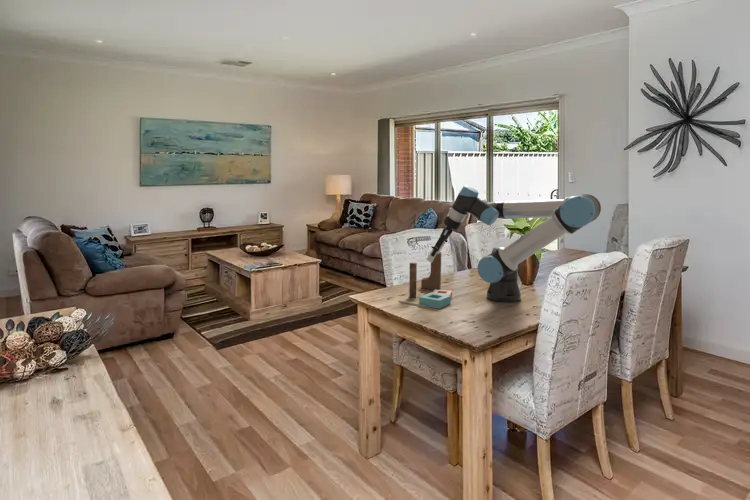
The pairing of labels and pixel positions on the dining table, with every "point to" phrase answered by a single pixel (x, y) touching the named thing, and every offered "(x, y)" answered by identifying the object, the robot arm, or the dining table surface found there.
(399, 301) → the grey cord
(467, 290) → the dining table surface
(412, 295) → the brown square post
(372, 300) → the dining table surface
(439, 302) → the teal bead
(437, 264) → the wooden block
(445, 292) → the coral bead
